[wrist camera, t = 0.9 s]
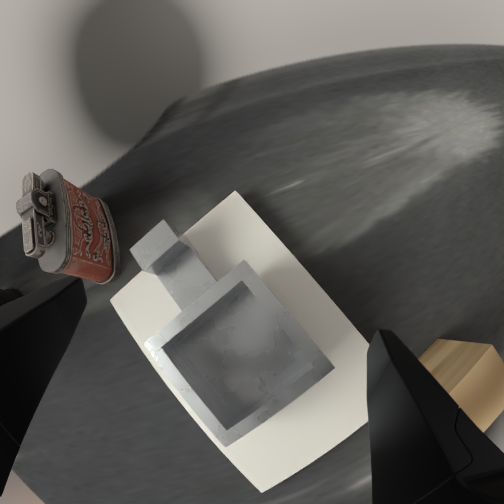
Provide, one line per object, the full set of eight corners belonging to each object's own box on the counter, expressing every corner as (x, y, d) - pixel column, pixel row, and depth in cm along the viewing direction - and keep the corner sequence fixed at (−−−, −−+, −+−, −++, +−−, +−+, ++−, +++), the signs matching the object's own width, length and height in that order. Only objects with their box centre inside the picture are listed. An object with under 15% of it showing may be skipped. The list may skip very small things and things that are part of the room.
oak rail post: (463, 373, 20) (519, 389, 12) (427, 409, 20) (474, 441, 12) (437, 338, 21) (491, 344, 13) (400, 375, 21) (443, 398, 13)
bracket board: (399, 384, 21) (405, 388, 19) (263, 484, 21) (261, 492, 19) (239, 197, 25) (235, 190, 24) (119, 301, 25) (109, 300, 24)
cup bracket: (327, 356, 21) (335, 367, 16) (240, 422, 21) (225, 447, 16) (208, 214, 24) (186, 189, 19) (133, 279, 24) (97, 269, 19)
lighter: (81, 209, 28) (8, 169, 18) (109, 194, 27) (39, 146, 18) (95, 290, 26) (12, 273, 16) (126, 277, 26) (45, 254, 16)
